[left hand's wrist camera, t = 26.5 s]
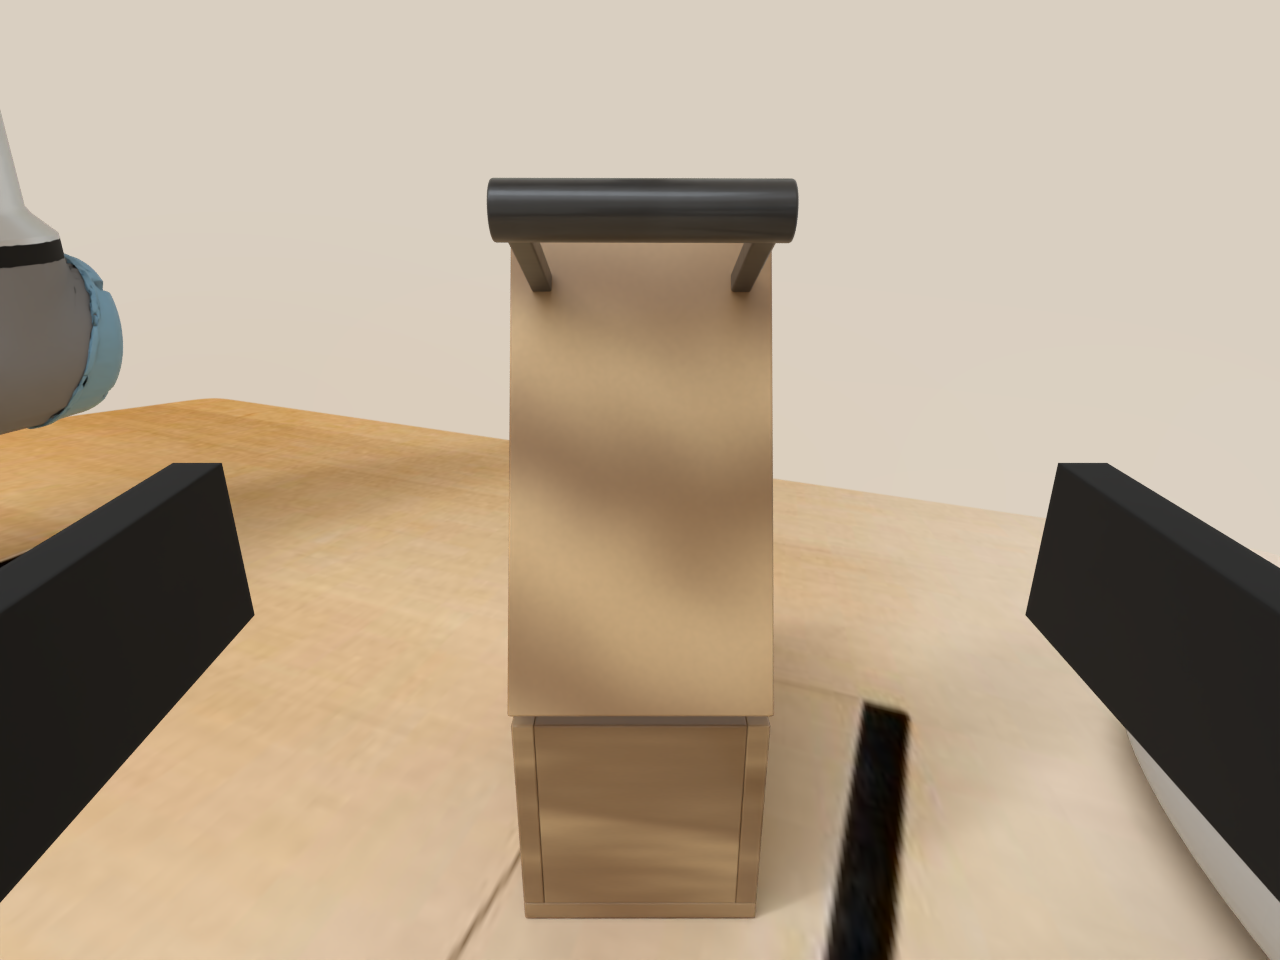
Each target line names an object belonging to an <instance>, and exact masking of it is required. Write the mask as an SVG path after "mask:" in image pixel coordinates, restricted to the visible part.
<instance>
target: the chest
mask: <svg viewBox="0 0 1280 960" xmlns="http://www.w3.org/2000/svg"><path fill="white" fill-rule="evenodd" d="M511 730H512V744H513V758H514V771H515V785H516V798H517V812H518V825H519V839H520V852H521V866H522V879H523V893H524V907H525V917H526V918H724V917H755V908H756V896H757V883H758V871H759V859H760V846H761V834H762V821H763V809H764V797H765V784H766V772H767V760H768V747H769V735H770V724H769V719H768V716H513V721H512V725H511Z"/></svg>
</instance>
